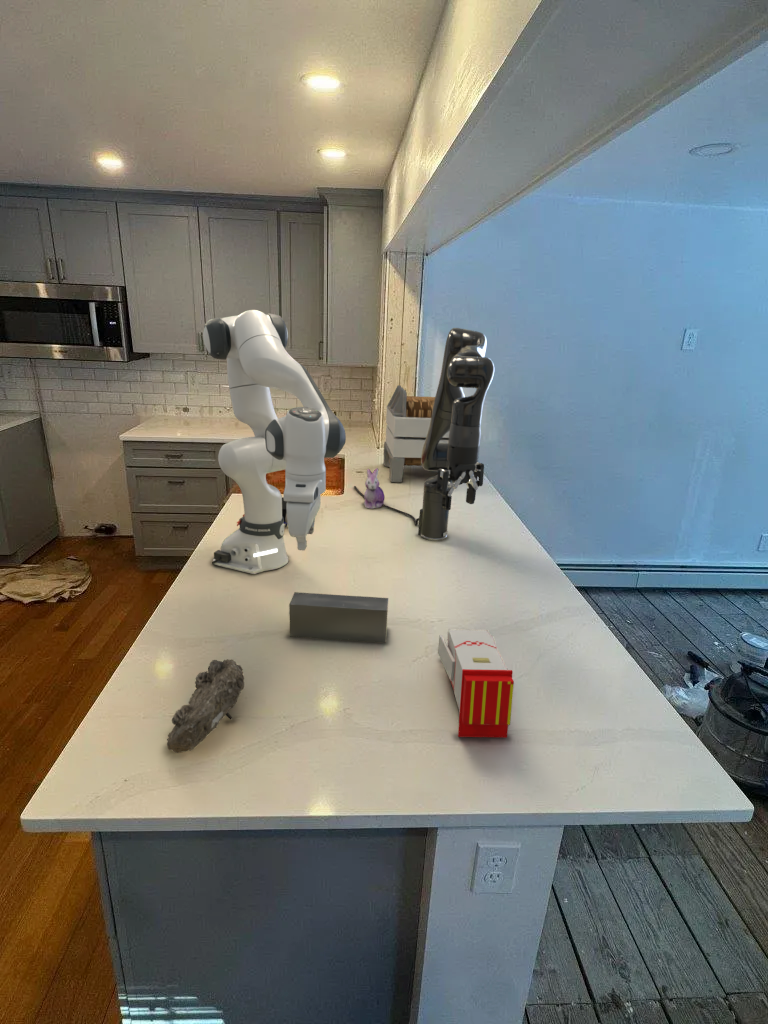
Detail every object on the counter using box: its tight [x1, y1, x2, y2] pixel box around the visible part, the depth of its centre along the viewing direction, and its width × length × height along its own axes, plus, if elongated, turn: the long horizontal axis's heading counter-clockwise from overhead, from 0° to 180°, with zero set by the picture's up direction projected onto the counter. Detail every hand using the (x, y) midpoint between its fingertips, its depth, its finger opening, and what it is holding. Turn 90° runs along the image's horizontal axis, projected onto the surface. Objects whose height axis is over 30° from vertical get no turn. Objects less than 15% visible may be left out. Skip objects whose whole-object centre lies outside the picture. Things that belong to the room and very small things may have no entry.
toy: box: [437, 628, 515, 738], centre depth 117 cm, size 12×13×30 cm
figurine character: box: [282, 496, 288, 528], centre depth 204 cm, size 7×8×15 cm
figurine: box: [363, 467, 385, 509], centre depth 225 cm, size 9×10×15 cm
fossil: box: [166, 658, 245, 754], centre depth 106 cm, size 22×10×15 cm
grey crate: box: [383, 384, 453, 483], centre depth 268 cm, size 34×33×41 cm
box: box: [288, 591, 389, 644], centre depth 136 cm, size 23×6×9 cm, turn 87°
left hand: (306, 540), depth 130 cm, fingers open, 8 cm apart
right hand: (458, 506), depth 141 cm, fingers open, 8 cm apart
